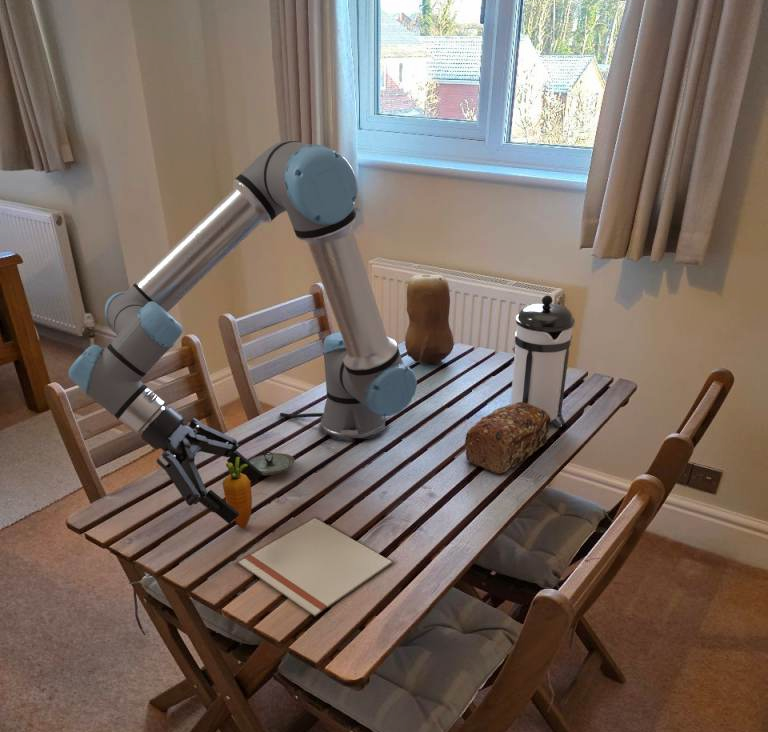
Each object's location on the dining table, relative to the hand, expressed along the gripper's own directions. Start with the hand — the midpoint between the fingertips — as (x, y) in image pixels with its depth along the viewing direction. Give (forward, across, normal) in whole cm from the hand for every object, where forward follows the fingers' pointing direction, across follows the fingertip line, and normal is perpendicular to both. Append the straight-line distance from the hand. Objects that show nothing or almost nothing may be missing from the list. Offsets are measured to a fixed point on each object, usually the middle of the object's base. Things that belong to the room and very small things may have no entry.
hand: (246, 497), depth 126 cm
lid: (+3, +21, +7) cm, 23 cm away
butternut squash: (+23, +85, -13) cm, 89 cm away
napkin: (+15, -9, -5) cm, 18 cm away
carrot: (+4, 0, +6) cm, 7 cm away
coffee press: (+43, +53, -33) cm, 76 cm away
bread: (+39, +34, -28) cm, 59 cm away
